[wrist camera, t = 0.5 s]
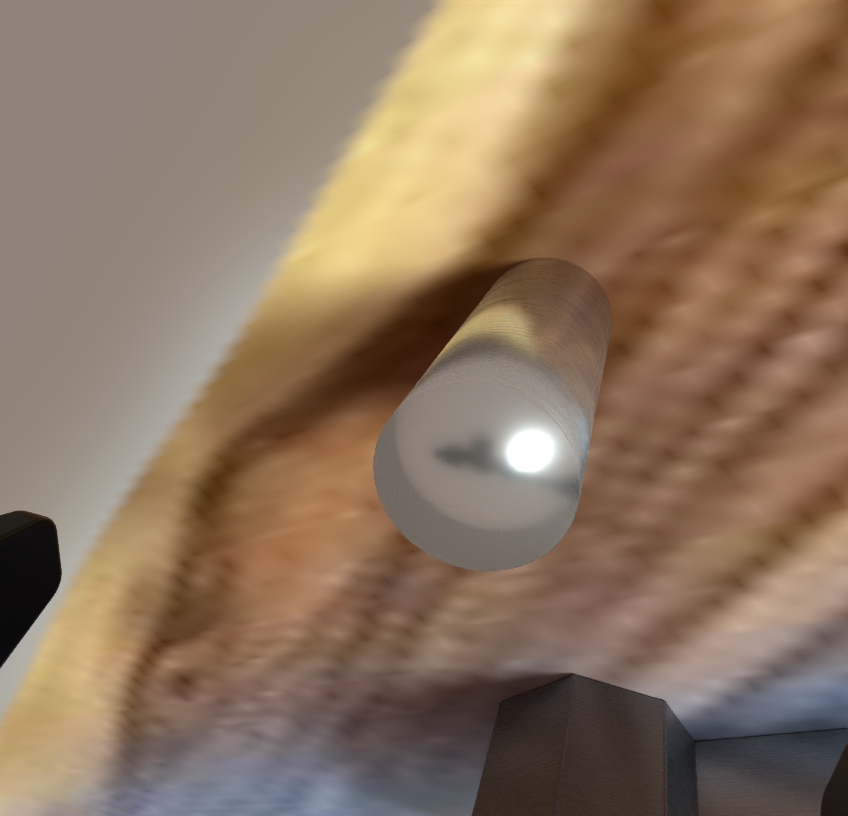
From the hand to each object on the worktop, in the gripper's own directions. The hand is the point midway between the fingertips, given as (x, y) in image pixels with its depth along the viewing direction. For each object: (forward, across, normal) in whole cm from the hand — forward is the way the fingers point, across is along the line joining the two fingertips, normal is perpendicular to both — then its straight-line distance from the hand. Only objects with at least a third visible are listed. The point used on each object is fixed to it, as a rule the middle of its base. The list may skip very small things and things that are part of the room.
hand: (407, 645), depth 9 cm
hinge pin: (+11, 0, 0) cm, 11 cm away
